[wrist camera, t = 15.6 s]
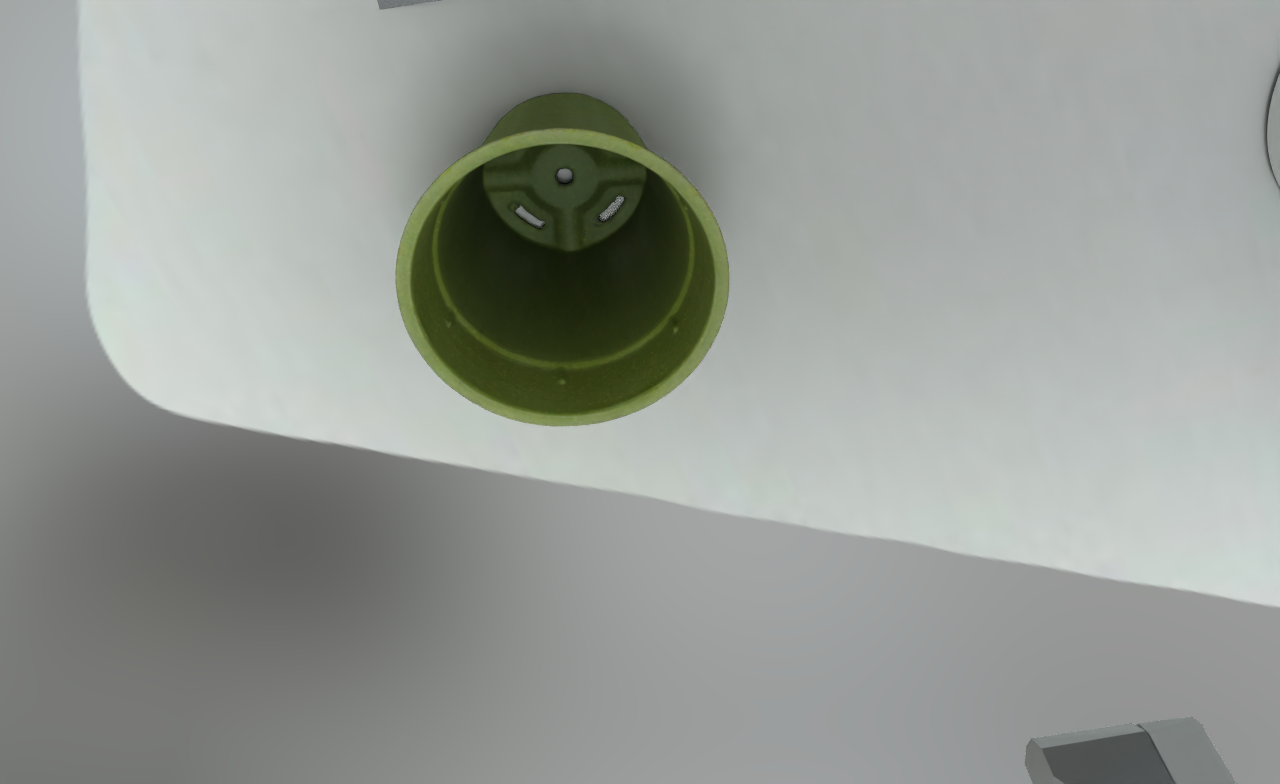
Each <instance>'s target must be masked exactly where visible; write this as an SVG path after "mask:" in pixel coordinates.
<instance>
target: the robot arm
mask: <svg viewBox="0 0 1280 784" xmlns="http://www.w3.org/2000/svg"><path fill="white" fill-rule="evenodd" d="M1267 143H1268V152H1269V158H1270V163H1271V166H1272V170H1273V173H1274V175H1275V178H1276V180H1277V182H1278V184H1279V186H1280V74H1279V77H1278V80H1277V82H1276V85H1275V89H1274V92H1273V96H1272V100H1271V104H1270V109H1269V117H1268V128H1267ZM1025 765H1026V768H1027V770H1028V773H1029V775H1030V778H1031V780H1032V783H1033V784H1237V783H1236V781H1235V779H1234V777H1233V776H1232V774H1231V772H1230V771H1229V769H1228V767H1227V765H1226V764H1225V762H1224V760H1223V759H1222V757H1221V755H1220V754H1219V752H1218V750H1217V749H1216V747H1215V745H1214V743H1213V742H1212V740H1211V738H1210V737H1209V735H1208V733H1207V732H1206V730H1205V728H1204V727H1203V725H1202V724H1200V723H1199V722H1198V721H1197V720H1196V719H1194V718H1193V717H1180V718H1174V719H1167V720H1160V721H1154V722H1147V723H1141V724H1136V725H1135V724H1133V723H1129V724H1123V725H1116V726H1110V727H1103V728H1097V729H1090V730H1083V731H1077V732H1071V733H1063V734H1057V735H1051V736H1044V737H1037V738H1031V740H1030V741H1029V743H1028V745H1027V747H1026V758H1025Z"/></svg>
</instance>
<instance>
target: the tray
mask: <svg viewBox="0 0 1280 784" xmlns="http://www.w3.org/2000/svg"><path fill="white" fill-rule="evenodd" d="M433 1H439V0H378V4H379V8H380V9H387V8H393V7H400V6H406V5H413V4H420V3H426V2H433Z"/></svg>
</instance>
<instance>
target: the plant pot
mask: <svg viewBox="0 0 1280 784" xmlns="http://www.w3.org/2000/svg"><path fill="white" fill-rule="evenodd" d="M564 168H565V169H569V170H570V171H571V172H572V175H573V179H572V181H571V182H570V183H568V184H564V185H563V184H560V183H559V182H558V181H557V179H556V174H557V172H558V171H559V170H560V169H564ZM497 192H498V193H497ZM499 192H500V193H499ZM502 192H503V193H502ZM619 193H620V194H619ZM618 194H619V196H622V197H624V198H625V201H624V203H623V204H622V205H621V207H620V209H619V210H618V211H617V212H616V213H615V214H614V215H613V216H612V217H611V218H609V219H608V221H606V222H601V221H600V220H599V215H600V214H601V213H602V212H604V211H605V210H606V209H607V208H608V207H609V205H610V204H611V203H613V202H614V201H615V200H616V197H617V196H618ZM520 205H521V206H522V207H523V208H524V209H525V210H526V211H527V212H528V213H530V214H531V215H533V216H534V217H535V218H537V219H538V220H540V221H544V222H545V225H544V226H542V228H541V229H537V228H534V227H533V226H531V225H529V224H528V223H526V222H525V221H524V220H521V219H520V218H519V217H518V216H516V215H515V213H514V210H516V209H518V208H519V206H520ZM584 232H585V236H584ZM396 289H397V297H398V303H399V307H400V311H401V315H402V318H403V321H404V324H405V326H406V329H407V331H408V334H409V336H410V338H411V340H412V342H413V343H414V345H415V347H416V348H417V350H418V351H419V353H420V354H421V356H422V357H423V358H424V360H425V361H426V362H427V364H428V365H429V366H430V367H431V368H432V370H433V371H434V372H435V373H436V374H437V375H438V376H439V377H440V378H441V379H442V380H443V381H444V382H445V383H446V384H447V385H449V386H450V387H451V388H452V389H454V390H455V391H456V392H458V393H459V394H461V395H462V396H463V397H465V398H467V399H468V400H470V401H471V402H473V403H475V404H477V405H479V406H481V407H482V408H484V409H486V410H488V411H490V412H492V413H495V414H498V415H500V416H503V417H506V418H509V419H513V420H516V421H520V422H524V423H530V424H536V425H544V426H579V425H588V424H596V423H601V422H605V421H610V420H613V419H617V418H620V417H623V416H626V415H628V414H631V413H634V412H637V411H639V410H641V409H643V408H645V407H647V406H649V405H651V404H653V403H655V402H656V401H658V400H659V399H661V398H662V397H664V396H665V395H667V394H668V393H670V392H671V391H672V390H674V389H675V388H676V387H677V386H678V385H679V384H681V383H682V382H683V381H684V380H685V379H686V378H687V377H688V376H689V375H690V374H691V373H692V372H693V371H694V369H695V368H696V367H697V366H698V365H699V364H700V362H701V361H702V360H703V358H704V357H705V355H706V354H707V352H708V350H709V349H710V347H711V345H712V343H713V342H714V340H715V338H716V336H717V333H718V331H719V329H720V326H721V323H722V321H723V318H724V314H725V310H726V306H727V301H728V293H729V264H728V258H727V252H726V247H725V243H724V240H723V237H722V234H721V231H720V228H719V226H718V223H717V221H716V219H715V217H714V215H713V213H712V211H711V210H710V208H709V206H708V205H707V203H706V201H705V200H704V198H703V197H702V196H701V195H700V193H699V192H698V190H697V189H696V188H695V187H694V186H693V185H692V184H691V183H690V182H689V181H688V180H687V178H686V177H685V176H683V175H682V174H681V173H680V172H679V171H678V170H677V169H676V168H675V167H673V166H672V165H671V164H669V163H668V162H667V161H665V160H664V159H662V158H661V157H659V156H658V155H656V154H655V153H653V152H651V151H649V150H648V149H647V148H646V146H645V145H644V143H643V142H642V140H641V139H640V137H639V136H638V134H637V133H636V131H635V130H634V128H633V127H632V126H631V125H630V123H629V122H628V121H627V120H626V119H625V118H624V117H623V116H622V115H621V114H620V113H619V112H618V111H616V110H615V109H614V108H612V107H611V106H609V105H607V104H606V103H604V102H602V101H600V100H597V99H595V98H592V97H589V96H586V95H582V94H577V93H559V94H550V95H545V96H539V97H536V98H532V99H529V100H527V101H525V102H523V103H521V104H520V105H518V106H516V107H515V108H514V109H512V110H511V111H510V112H509V113H507V114H506V115H505V116H504V117H503V118H502V119H501V120H500V121H499V122H498V124H497V125H496V126H495V128H494V129H493V131H492V132H491V133H490V135H489V136H488V138H487V139H486V140H485V142H484V143H483V145H482V146H481V147H479V148H477V149H475V150H474V151H472V152H470V153H468V154H467V155H465V156H464V157H462V158H461V159H459V160H458V161H457V162H455V163H454V164H453V165H451V166H450V167H449V168H448V169H447V170H445V171H444V172H443V173H442V174H441V175H440V176H439V177H438V178H437V179H436V180H435V181H434V182H433V183H432V184H431V186H430V187H429V188H428V189H427V191H426V192H425V193H424V194H423V196H422V197H421V198H420V200H419V201H418V203H417V204H416V206H415V208H414V210H413V211H412V213H411V215H410V218H409V220H408V222H407V224H406V226H405V229H404V232H403V235H402V238H401V241H400V246H399V250H398V256H397V262H396Z"/></svg>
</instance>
